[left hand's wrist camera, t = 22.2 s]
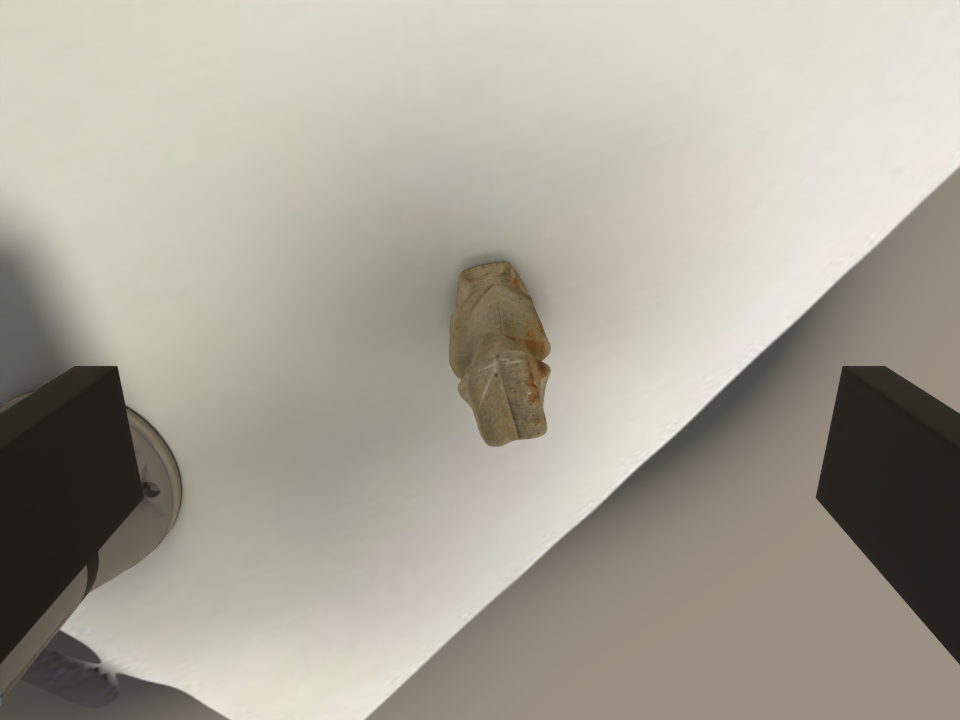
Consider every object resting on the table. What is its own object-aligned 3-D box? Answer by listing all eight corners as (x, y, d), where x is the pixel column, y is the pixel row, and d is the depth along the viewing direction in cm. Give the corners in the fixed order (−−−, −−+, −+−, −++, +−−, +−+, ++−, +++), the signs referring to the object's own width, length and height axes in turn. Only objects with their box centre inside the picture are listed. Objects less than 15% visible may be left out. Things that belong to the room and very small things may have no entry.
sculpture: (463, 360, 48) (456, 464, 34) (444, 262, 45) (428, 331, 31) (544, 346, 48) (570, 446, 34) (529, 247, 45) (551, 310, 31)
